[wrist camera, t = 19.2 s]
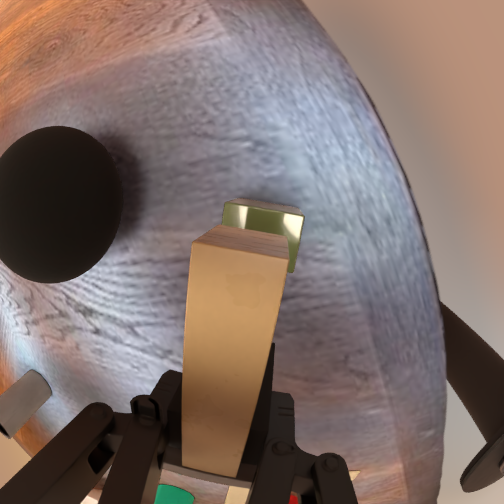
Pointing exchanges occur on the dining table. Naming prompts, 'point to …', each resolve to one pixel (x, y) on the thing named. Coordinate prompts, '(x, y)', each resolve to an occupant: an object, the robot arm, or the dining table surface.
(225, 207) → the knife rest
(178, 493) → the candle
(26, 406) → the grey cylinder
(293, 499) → the strawberry
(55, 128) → the decorative ball
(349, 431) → the dining table surface
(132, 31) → the dining table surface
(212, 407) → the fork
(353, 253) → the dining table surface
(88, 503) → the bowl
